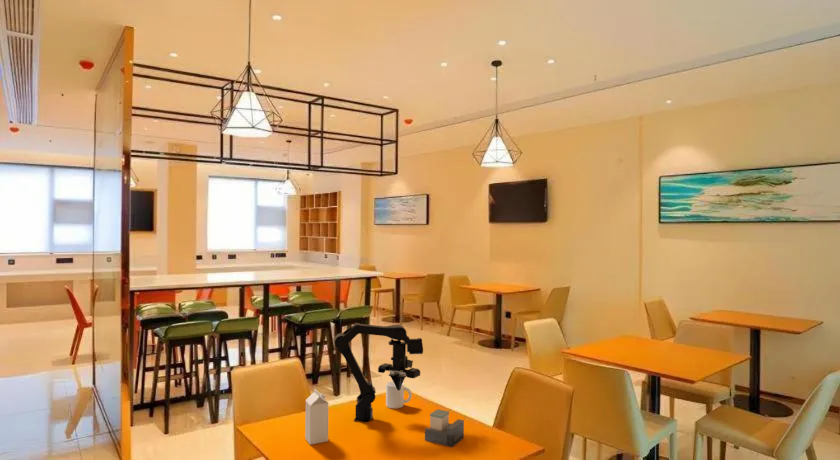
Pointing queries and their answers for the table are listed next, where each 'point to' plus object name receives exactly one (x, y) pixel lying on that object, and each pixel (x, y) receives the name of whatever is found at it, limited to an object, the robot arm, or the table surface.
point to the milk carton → (316, 418)
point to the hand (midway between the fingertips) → (398, 390)
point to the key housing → (446, 434)
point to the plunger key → (439, 420)
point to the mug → (396, 395)
